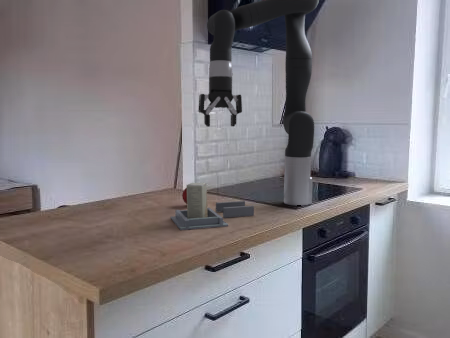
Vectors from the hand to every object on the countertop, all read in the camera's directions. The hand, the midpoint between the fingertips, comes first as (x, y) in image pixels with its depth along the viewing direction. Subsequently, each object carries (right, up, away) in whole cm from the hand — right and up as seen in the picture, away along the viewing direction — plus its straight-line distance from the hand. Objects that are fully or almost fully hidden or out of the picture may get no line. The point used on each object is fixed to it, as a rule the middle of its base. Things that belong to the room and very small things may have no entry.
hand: (220, 126), depth 135 cm
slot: (+5, -29, -1) cm, 29 cm away
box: (-7, -30, -12) cm, 33 cm away
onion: (-11, -27, +10) cm, 31 cm away
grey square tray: (-6, -30, -12) cm, 33 cm away
